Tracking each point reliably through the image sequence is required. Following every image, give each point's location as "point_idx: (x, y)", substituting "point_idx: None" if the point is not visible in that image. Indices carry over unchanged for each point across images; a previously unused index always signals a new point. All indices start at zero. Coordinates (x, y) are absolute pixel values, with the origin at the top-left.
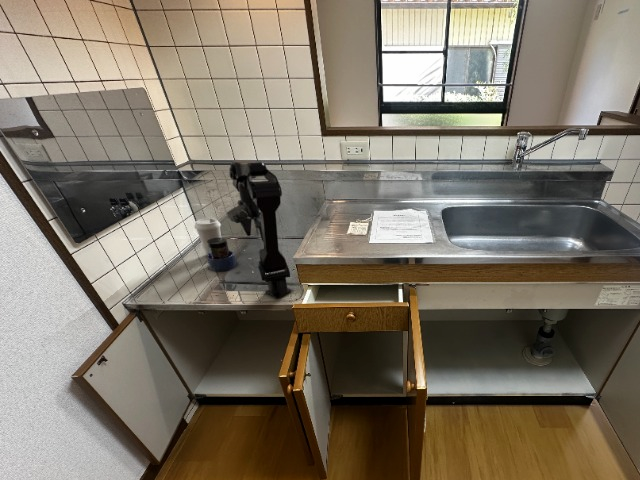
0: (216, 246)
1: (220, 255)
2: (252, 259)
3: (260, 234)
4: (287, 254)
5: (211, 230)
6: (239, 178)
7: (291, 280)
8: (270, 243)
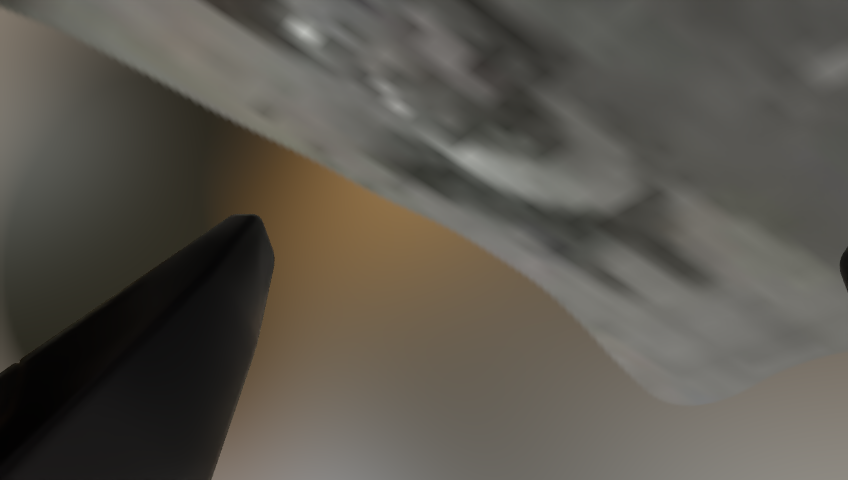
0: None
1: None
2: (791, 70)
3: (104, 358)
4: (562, 300)
5: None
6: None
7: (83, 35)
8: None
